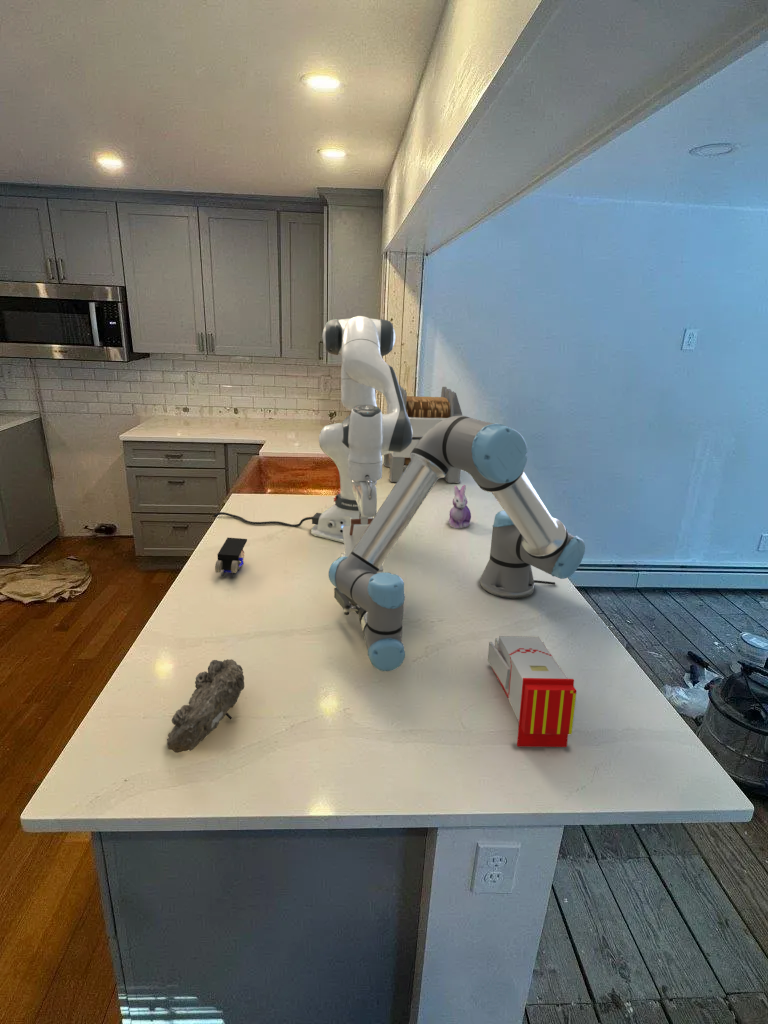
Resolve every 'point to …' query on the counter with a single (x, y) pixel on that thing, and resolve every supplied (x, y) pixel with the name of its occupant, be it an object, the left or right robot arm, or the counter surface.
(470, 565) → the counter surface
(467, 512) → the figurine
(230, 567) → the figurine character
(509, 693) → the toy
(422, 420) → the transformer
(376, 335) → the left robot arm
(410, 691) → the counter surface
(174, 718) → the fossil
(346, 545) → the lid
